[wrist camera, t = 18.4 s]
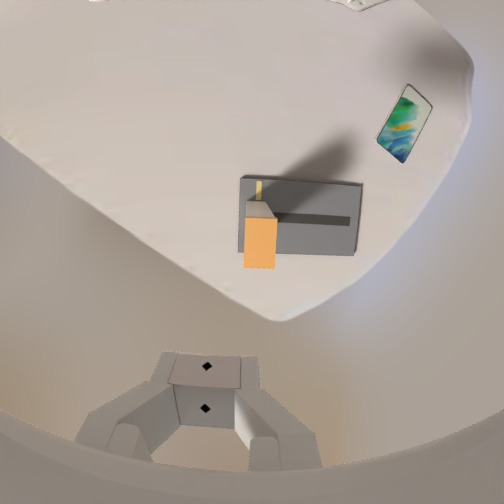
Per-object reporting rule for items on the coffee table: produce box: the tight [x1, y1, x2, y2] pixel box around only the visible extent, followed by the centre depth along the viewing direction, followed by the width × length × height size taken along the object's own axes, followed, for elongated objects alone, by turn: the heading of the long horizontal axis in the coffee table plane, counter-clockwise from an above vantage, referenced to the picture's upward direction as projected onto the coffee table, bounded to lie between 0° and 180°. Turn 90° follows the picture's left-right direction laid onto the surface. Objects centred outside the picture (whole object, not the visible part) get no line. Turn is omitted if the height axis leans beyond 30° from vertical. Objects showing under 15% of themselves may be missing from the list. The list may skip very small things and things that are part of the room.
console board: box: [238, 178, 361, 256], centre depth 46 cm, size 20×12×1 cm, turn 88°
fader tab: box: [244, 201, 278, 269], centre depth 37 cm, size 3×5×17 cm, turn 178°
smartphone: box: [375, 84, 432, 164], centre depth 42 cm, size 7×1×15 cm
